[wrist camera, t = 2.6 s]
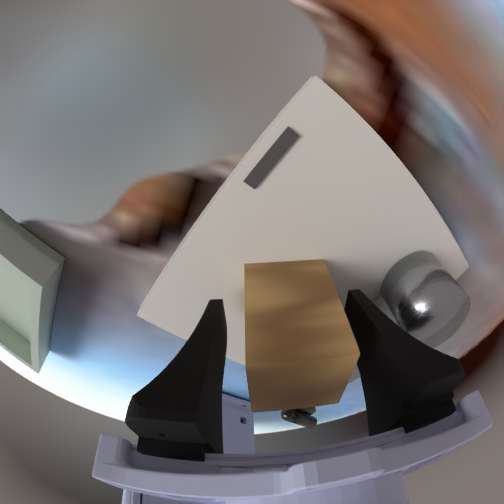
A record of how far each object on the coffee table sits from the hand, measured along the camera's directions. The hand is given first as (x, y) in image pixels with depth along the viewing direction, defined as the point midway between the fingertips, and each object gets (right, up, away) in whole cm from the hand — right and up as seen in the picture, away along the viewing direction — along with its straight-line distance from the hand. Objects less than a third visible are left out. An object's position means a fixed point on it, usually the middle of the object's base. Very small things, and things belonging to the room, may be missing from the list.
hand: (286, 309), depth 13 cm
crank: (+5, -1, +2) cm, 6 cm away
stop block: (0, +1, +1) cm, 1 cm away
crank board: (+2, +1, +2) cm, 3 cm away
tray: (-23, +1, +1) cm, 24 cm away
